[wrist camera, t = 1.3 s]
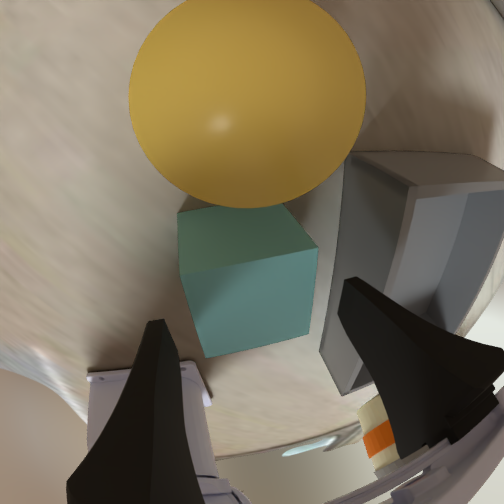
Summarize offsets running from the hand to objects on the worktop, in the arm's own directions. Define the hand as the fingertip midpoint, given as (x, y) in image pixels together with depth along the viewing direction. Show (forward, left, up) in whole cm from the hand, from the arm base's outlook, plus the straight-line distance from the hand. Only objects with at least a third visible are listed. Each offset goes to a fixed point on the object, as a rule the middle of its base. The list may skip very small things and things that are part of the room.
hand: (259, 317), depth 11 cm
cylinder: (0, +8, -5) cm, 10 cm away
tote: (+13, -4, -5) cm, 15 cm away
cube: (0, 0, -6) cm, 6 cm away
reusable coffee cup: (+22, -38, -6) cm, 44 cm away
